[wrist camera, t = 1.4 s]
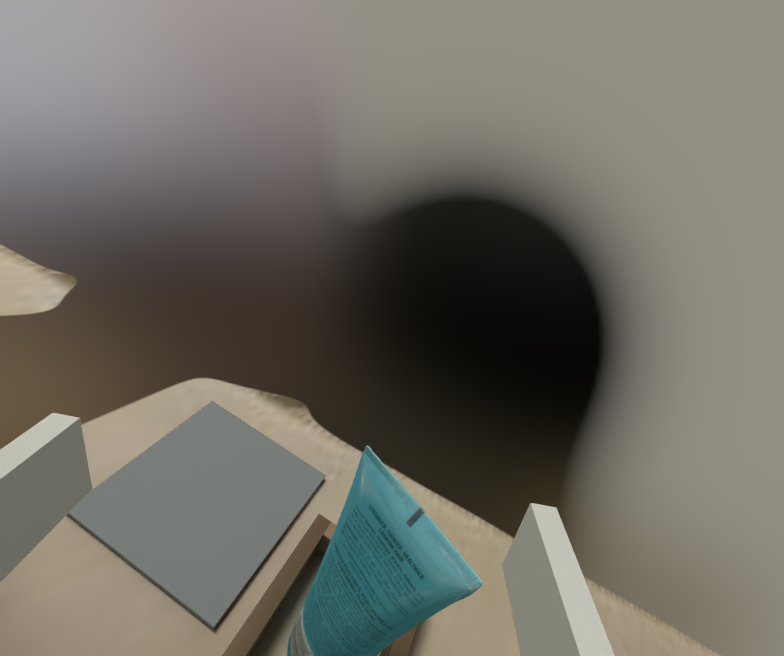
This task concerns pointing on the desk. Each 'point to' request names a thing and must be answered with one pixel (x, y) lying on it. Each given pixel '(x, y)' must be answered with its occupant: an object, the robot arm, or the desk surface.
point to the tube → (379, 571)
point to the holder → (282, 585)
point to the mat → (201, 509)
